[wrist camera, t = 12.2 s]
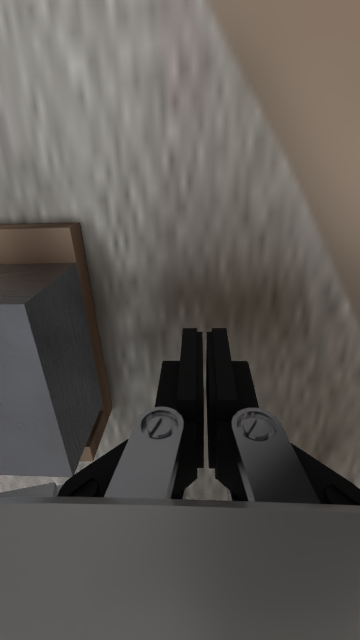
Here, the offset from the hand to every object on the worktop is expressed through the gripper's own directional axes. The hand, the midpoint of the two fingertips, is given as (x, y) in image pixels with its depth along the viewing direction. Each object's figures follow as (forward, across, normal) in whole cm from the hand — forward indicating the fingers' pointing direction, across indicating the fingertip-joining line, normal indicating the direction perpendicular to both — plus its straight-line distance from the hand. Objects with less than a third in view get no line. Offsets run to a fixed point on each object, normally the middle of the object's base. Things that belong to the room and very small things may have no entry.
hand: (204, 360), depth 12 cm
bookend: (+3, +9, +1) cm, 9 cm away
